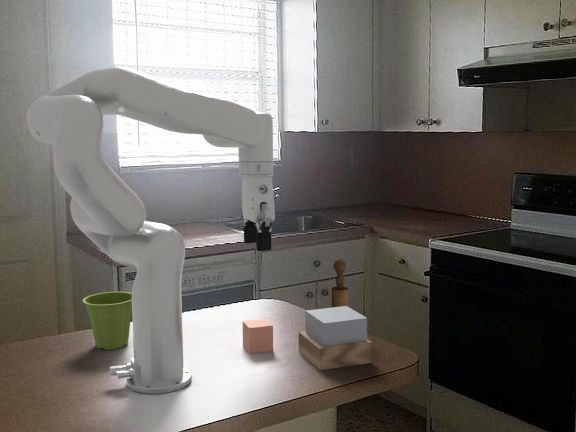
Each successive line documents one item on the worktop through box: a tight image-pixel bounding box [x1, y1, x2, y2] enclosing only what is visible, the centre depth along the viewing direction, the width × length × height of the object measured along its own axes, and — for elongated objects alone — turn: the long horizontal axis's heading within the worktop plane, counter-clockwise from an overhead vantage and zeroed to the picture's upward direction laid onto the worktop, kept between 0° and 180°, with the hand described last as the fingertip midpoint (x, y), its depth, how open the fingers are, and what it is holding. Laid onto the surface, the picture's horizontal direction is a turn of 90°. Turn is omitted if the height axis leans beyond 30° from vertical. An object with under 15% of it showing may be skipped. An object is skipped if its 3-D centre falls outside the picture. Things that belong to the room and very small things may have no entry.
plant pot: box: [82, 291, 132, 351], centre depth 152 cm, size 12×12×11 cm
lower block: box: [298, 330, 373, 371], centre depth 144 cm, size 12×12×5 cm
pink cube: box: [242, 318, 274, 355], centre depth 150 cm, size 6×6×6 cm
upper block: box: [305, 306, 368, 347], centre depth 144 cm, size 10×10×5 cm
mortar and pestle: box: [331, 259, 349, 308], centre depth 160 cm, size 7×6×18 cm
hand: (257, 246), depth 147 cm, fingers open, 9 cm apart
